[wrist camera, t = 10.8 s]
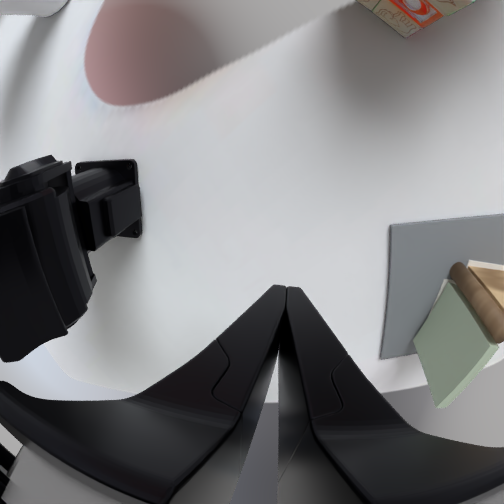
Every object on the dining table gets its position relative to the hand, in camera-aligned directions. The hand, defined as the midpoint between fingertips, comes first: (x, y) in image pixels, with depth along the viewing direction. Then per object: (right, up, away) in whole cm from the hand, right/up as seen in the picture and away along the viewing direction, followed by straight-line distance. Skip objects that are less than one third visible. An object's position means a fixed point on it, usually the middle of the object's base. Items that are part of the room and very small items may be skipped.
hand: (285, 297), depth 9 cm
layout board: (+18, -2, +11) cm, 22 cm away
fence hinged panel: (+15, -4, +12) cm, 20 cm away
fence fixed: (+20, -1, +10) cm, 22 cm away
